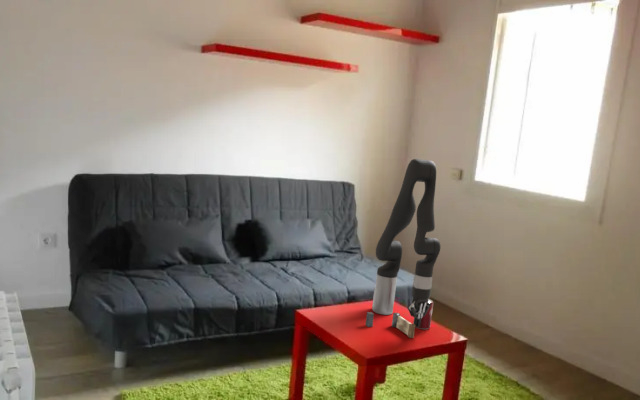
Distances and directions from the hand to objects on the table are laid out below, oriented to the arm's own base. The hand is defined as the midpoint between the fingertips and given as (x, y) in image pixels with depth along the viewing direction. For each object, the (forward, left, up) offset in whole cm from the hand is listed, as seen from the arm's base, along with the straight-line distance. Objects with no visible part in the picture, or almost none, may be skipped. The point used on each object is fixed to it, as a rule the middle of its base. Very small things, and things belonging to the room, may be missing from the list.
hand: (416, 326), depth 232 cm
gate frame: (-12, -9, -4) cm, 15 cm away
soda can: (-9, +9, -4) cm, 13 cm away
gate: (-3, -3, -4) cm, 6 cm away
